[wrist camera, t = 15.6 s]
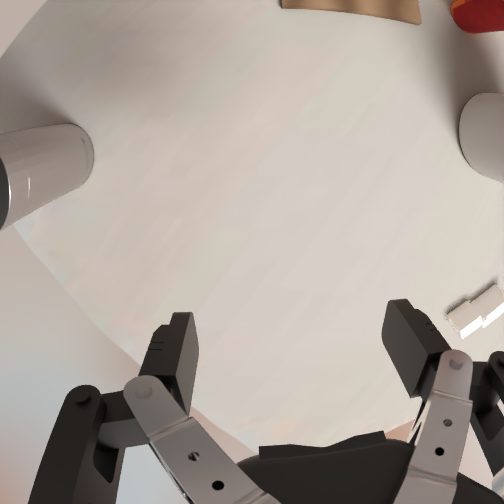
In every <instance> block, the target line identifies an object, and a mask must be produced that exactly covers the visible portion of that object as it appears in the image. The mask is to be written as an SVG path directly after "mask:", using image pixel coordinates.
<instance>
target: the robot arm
mask: <svg viewBox="0 0 504 504" xmlns="http://www.w3.org/2000/svg"><path fill="white" fill-rule="evenodd" d="M93 162H94V151H93V146H92V143H91V141H90V138H89V137H88V135H87V134H86V132H85V131H84V130H82V129H81V128H80V127H78V126H76V125H73V124H59V125H51V126H43V127H37V128H31V129H25V130H19V131H13V132H8V133H3V134H0V231H1V230H3V229H4V228H6V227H8V226H9V225H11V224H13V223H14V222H16V221H17V220H19V219H21V218H23V217H24V216H26V215H28V214H30V213H31V212H33V211H35V210H37V209H38V208H40V207H42V206H44V205H46V204H47V203H49V202H51V201H53V200H55V199H57V198H59V197H61V196H63V195H65V194H67V193H68V192H70V191H72V190H74V189H76V188H78V187H80V186H81V185H82V184H84V182H85V181H86V180H87V179H88V177H89V175H90V173H91V171H92V168H93ZM382 341H383V344H384V346H385V348H386V350H387V352H388V354H389V356H390V358H391V360H392V362H393V364H394V366H395V368H396V370H397V372H398V374H399V376H400V378H401V380H402V382H403V384H404V386H405V388H406V390H407V392H408V394H409V396H410V398H415V397H419V396H421V398H422V401H421V404H420V406H419V409H418V412H417V415H416V417H415V420H414V423H413V426H412V428H411V431H410V434H409V436H408V438H407V441H406V442H404V441H401V440H396V439H386V437H385V434H384V431H378V432H373V433H368V434H363V435H358V436H354V437H351V438H349V439H346V440H344V441H341V442H339V443H336V444H333V445H331V446H328V447H312V446H302V445H293V444H288V445H274V446H259V455H256V456H252V457H249V458H247V459H244V460H242V461H240V462H238V463H237V464H235V463H234V462H233V461H232V459H231V458H230V457H229V456H228V455H227V454H226V453H225V452H224V451H223V450H222V449H221V448H220V446H219V445H218V444H217V443H216V442H215V441H214V440H213V439H212V437H211V436H210V435H209V434H208V433H207V432H206V431H205V429H204V428H203V427H202V426H201V425H200V424H199V423H198V421H197V420H196V419H195V418H194V417H190V418H189V412H190V406H191V400H192V393H193V387H194V381H195V375H196V368H197V362H198V356H199V345H198V338H197V333H196V327H195V321H194V316H193V313H192V312H174V313H173V315H172V318H171V321H170V324H169V325H161V326H160V327H159V328H158V329H157V330H156V331H155V332H154V333H153V336H152V339H151V341H150V342H151V343H150V344H149V347H148V351H147V352H146V355H145V358H144V361H143V364H142V366H141V369H140V372H139V375H138V377H135V378H133V379H132V380H130V381H129V382H128V383H127V384H126V385H125V387H124V390H122V391H118V392H113V393H107V394H100V392H99V390H98V389H97V388H96V387H94V386H91V385H81V386H78V387H75V388H74V389H72V390H71V391H70V392H69V393H68V394H67V396H66V398H65V400H64V403H63V405H62V407H61V410H60V412H59V415H58V417H57V420H56V422H55V425H54V428H53V430H52V433H51V435H50V438H49V441H48V443H47V446H46V449H45V452H44V455H43V457H42V461H41V463H40V466H39V469H38V472H37V475H36V479H35V482H34V485H33V488H32V491H31V495H30V498H29V501H28V504H115V503H116V497H117V491H118V486H119V480H120V474H121V469H122V463H123V458H124V453H125V448H126V447H132V446H138V445H144V444H148V445H149V446H150V448H151V450H152V451H153V453H154V454H155V456H156V457H157V459H158V460H159V462H160V463H161V465H162V466H163V468H164V469H165V470H166V472H167V474H168V475H169V476H170V478H171V479H172V481H173V482H174V484H175V485H176V487H177V488H178V490H179V491H180V492H181V494H182V495H183V496H184V498H185V499H186V500H187V501H188V503H189V504H504V416H503V414H502V412H501V410H500V409H499V407H498V405H497V403H498V401H499V400H500V399H501V401H502V402H503V404H504V352H503V351H496V352H494V353H492V354H491V355H490V357H489V359H488V362H473V361H472V359H471V358H470V357H469V355H467V354H466V353H464V352H462V351H460V350H454V349H453V350H452V349H451V347H450V346H449V345H448V343H447V342H446V340H445V339H444V338H443V336H442V335H441V334H440V332H439V331H438V330H437V328H436V327H435V325H434V324H432V321H431V320H430V319H429V317H428V316H427V315H426V314H425V313H423V312H422V311H420V310H419V309H414V307H413V306H412V305H411V303H410V302H409V301H408V300H407V299H397V300H390V301H389V302H388V304H387V309H386V313H385V318H384V323H383V327H382ZM469 422H470V423H471V425H472V428H473V430H474V432H475V434H476V436H477V439H478V441H479V443H480V445H481V448H482V450H483V452H484V455H485V457H486V459H487V462H488V464H489V467H490V469H491V472H492V474H493V477H494V478H493V481H492V490H490V489H488V488H487V487H484V486H483V485H481V484H479V483H477V482H475V481H474V480H472V479H470V478H468V477H467V476H465V475H463V474H461V473H459V472H458V470H459V466H460V462H461V458H462V454H463V450H464V446H465V441H466V437H467V432H468V427H469Z"/></svg>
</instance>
